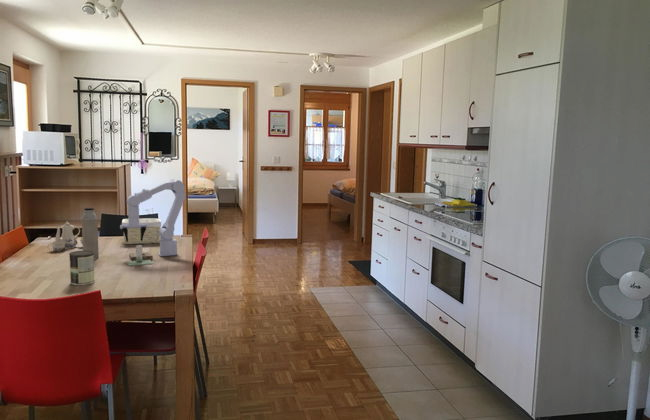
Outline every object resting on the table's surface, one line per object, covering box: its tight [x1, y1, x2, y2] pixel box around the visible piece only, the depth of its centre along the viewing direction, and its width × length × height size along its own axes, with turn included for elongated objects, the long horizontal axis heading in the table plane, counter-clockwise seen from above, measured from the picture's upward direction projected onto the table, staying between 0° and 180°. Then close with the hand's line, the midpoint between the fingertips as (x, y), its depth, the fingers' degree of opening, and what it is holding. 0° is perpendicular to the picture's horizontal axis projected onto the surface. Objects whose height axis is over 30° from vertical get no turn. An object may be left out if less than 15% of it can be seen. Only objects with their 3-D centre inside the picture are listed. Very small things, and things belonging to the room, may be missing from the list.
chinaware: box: [47, 220, 83, 252], centre depth 321 cm, size 28×17×17 cm, turn 147°
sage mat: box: [126, 260, 153, 267], centre depth 287 cm, size 12×9×1 cm
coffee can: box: [68, 250, 95, 286], centre depth 245 cm, size 10×10×14 cm
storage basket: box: [121, 217, 162, 245], centre depth 345 cm, size 24×16×15 cm
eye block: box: [128, 251, 154, 261], centre depth 297 cm, size 11×11×2 cm
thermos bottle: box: [81, 207, 100, 260], centre depth 295 cm, size 8×8×28 cm
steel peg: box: [135, 244, 143, 263], centre depth 286 cm, size 3×3×9 cm
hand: (134, 240), depth 298 cm, fingers open, 7 cm apart
